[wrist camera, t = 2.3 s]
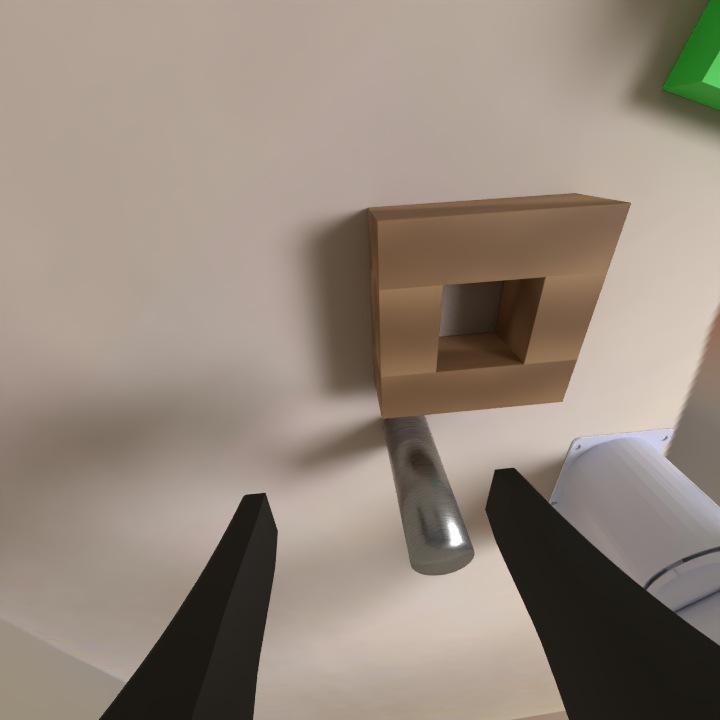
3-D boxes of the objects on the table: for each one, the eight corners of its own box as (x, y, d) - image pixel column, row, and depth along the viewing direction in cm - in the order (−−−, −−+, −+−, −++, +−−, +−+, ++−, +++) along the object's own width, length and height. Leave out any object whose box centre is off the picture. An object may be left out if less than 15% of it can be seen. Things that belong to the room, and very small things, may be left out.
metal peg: (425, 438, 24) (470, 571, 16) (383, 442, 24) (409, 578, 16) (427, 406, 22) (478, 537, 15) (383, 410, 22) (411, 544, 15)
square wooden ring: (529, 367, 21) (562, 401, 18) (374, 381, 21) (382, 418, 18) (575, 193, 16) (631, 202, 13) (368, 207, 16) (377, 221, 13)
